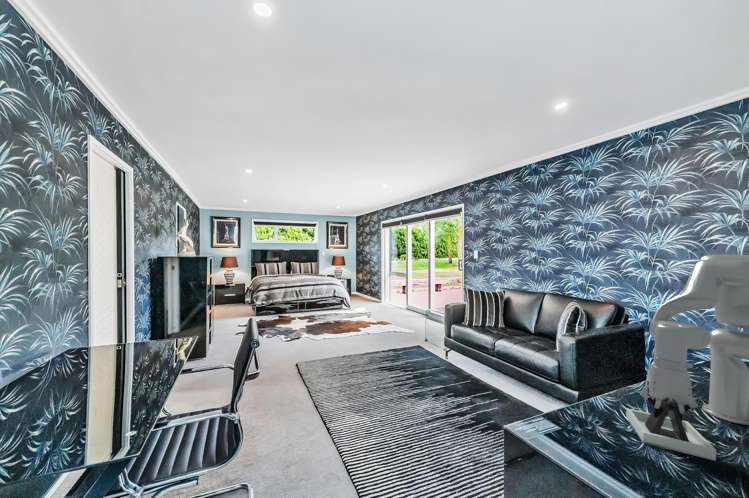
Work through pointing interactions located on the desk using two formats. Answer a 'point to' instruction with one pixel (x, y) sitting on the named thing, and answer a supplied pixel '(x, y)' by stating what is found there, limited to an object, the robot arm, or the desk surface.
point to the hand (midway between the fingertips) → (666, 421)
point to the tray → (693, 447)
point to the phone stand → (657, 422)
